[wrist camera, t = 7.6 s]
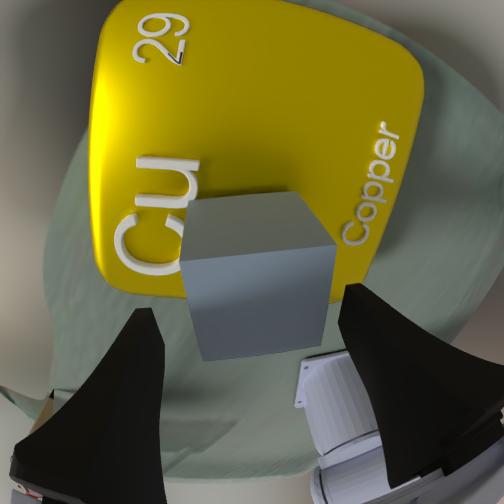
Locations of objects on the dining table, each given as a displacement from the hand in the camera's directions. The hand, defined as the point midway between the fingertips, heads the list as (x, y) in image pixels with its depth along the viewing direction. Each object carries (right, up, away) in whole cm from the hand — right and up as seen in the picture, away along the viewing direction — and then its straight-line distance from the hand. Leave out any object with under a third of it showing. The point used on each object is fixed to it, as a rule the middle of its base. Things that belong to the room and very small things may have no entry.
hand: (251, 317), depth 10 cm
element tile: (0, +8, +5) cm, 10 cm away
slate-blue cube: (0, +3, +3) cm, 4 cm away
